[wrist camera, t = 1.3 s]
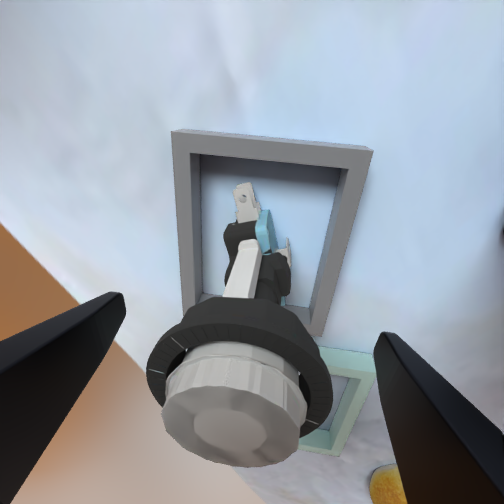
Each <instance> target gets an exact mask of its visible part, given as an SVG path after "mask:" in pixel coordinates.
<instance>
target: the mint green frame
mask: <svg viewBox="0 0 504 504" xmlns="http://www.w3.org/2000/svg"><path fill="white" fill-rule="evenodd" d="M318 348H319V350H320V356H321V358H322V359H323V360H324V362H325V364H326V366H327V368H328V371H329V373H330V374H331V375H338V376H344V377H350V378H349V381H348V383H347V386H346V388H345V391H344V394H343V396H342V399H341V401H340V404H339V406H338V409H337V412H336V414H335V417H334V419H333V422H332V424H331V427H330V429H329V431H328V430H322V429H315V430H314V431H313V432H311V433H309V434H308V435H306V436H304V437H302V438H299V445H298V450H303V451H309V452H314V453H320V454H325V455H331V456H337V457H339V456H340V454H341V451H342V449H343V447H344V445H345V443H346V441H347V439H348V436H349V434H350V432H351V430H352V428H353V426H354V423H355V421H356V419H357V417H358V415H359V413H360V410H361V408H362V406H363V404H364V402H365V400H366V397H367V395H368V393H369V391H370V389H371V387H372V385H373V382H374V380H375V378H376V369H375V363H374V360H373V357H372V354H367V353H361V352H354V351H347V350H341V349H334V348H327V347H321V346H318Z"/></svg>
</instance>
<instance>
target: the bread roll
mask: <svg viewBox="0 0 504 504" xmlns="http://www.w3.org/2000/svg"><path fill="white" fill-rule="evenodd" d="M369 490H370V496H371V499H372V502H373V504H407V501H406V497H405V493H404V489H403V485H402V482H401V478H400V474H399V470H398V466H397V464H389V465H385V466H382V467H379V468H377V469H376V470H375V472H374V473H373V475H372V478H371V481H370V486H369Z"/></svg>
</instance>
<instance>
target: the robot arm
mask: <svg viewBox="0 0 504 504" xmlns="http://www.w3.org/2000/svg"><path fill="white" fill-rule="evenodd" d="M503 233H504V231H503ZM125 316H126V307H125V302H124V297H123V294H122V293H119V292H108V293H105V294H103V295H101V296H99V297H97V298H94V299H92V300H90V301H88V302H86V303H83V304H81V305H79V306H77V307H75V308H73V309H70V310H68V311H66V312H64V313H62V314H59V315H57V316H55V317H53V318H51V319H48V320H46V321H44V322H42V323H40V324H37V325H35V326H33V327H31V328H29V329H26V330H24V331H22V332H20V333H18V334H15V335H13V336H11V337H9V338H7V339H4V340H2V341H0V504H10V503H11V502H12V500H13V499H14V497H15V495H16V494H17V492H18V491H19V489H20V488H21V486H22V485H23V483H24V481H25V480H26V478H27V477H28V475H29V474H30V472H31V471H32V469H33V467H34V466H35V464H36V463H37V461H38V460H39V458H40V457H41V455H42V453H43V452H44V450H45V449H46V447H47V446H48V444H49V443H50V441H51V439H52V438H53V436H54V435H55V433H56V432H57V430H58V429H59V427H60V425H61V424H62V422H63V421H64V419H65V417H66V416H67V415H68V413H69V411H70V410H71V408H72V407H73V405H74V404H75V402H76V400H77V399H78V397H79V396H80V394H81V393H82V391H83V390H84V388H85V387H86V385H87V383H88V382H89V380H90V379H91V377H92V375H93V374H94V373H95V371H96V369H97V368H98V366H99V365H100V363H101V362H102V360H103V358H104V357H105V355H106V353H107V351H108V350H109V348H110V346H111V344H112V342H113V340H114V338H115V336H116V334H117V332H118V330H119V328H120V326H121V324H122V322H123V320H124V318H125ZM373 355H374V362H375V369H376V376H377V382H378V389H379V395H380V401H381V405H382V409H383V413H384V417H385V421H386V425H387V428H388V432H389V436H390V440H391V444H392V447H393V451H394V455H395V459H396V463H397V466H398V470H399V474H400V478H401V482H402V485H403V489H404V493H405V497H406V501H407V504H504V434H503V433H502V431H501V430H500V429H499V428H498V427H496V426H495V425H494V424H493V423H492V422H491V421H490V420H489V419H488V418H487V417H486V416H485V415H483V414H482V413H481V412H480V411H479V410H478V409H477V408H476V407H475V406H474V405H473V404H472V403H470V402H469V401H468V400H467V399H466V398H465V397H464V396H463V395H462V394H461V393H460V392H459V391H457V390H456V389H455V388H454V387H453V386H452V385H451V384H450V383H449V382H448V381H447V380H446V379H444V378H443V377H442V376H441V375H440V374H439V373H438V372H437V371H436V370H435V369H434V368H433V367H432V366H430V365H429V364H428V363H427V362H426V361H425V360H424V359H423V358H422V357H421V356H420V355H419V354H417V353H416V352H415V351H414V350H413V349H412V348H411V347H410V346H409V345H408V344H407V343H406V342H404V341H403V340H402V339H401V338H400V337H399V336H398V335H397V334H395V333H391V332H382V333H381V334H380V336H379V338H378V340H377V343H376V345H375V347H374V352H373Z"/></svg>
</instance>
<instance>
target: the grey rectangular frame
mask: <svg viewBox="0 0 504 504" xmlns="http://www.w3.org/2000/svg"><path fill="white" fill-rule="evenodd" d="M171 140H172V155H173V170H174V185H175V200H176V216H177V231H178V246H179V261H180V276H181V291H182V306H183V316H184V315H185V313H186V312H187V310H188V309H189V308H190V307H192V306H194V305H196V304H198V303H200V302H203V301H205V300H207V299H209V298H211V297H222V296H220V295H213V294H205V293H202V251H201V199H200V154H207V155H217V156H227V157H237V158H247V159H257V160H267V161H277V162H287V163H296V164H306V165H316V166H326V167H336V168H342V169H341V173H340V177H339V182H338V186H337V190H336V195H335V199H334V203H333V208H332V212H331V216H330V220H329V225H328V229H327V233H326V238H325V242H324V246H323V251H322V255H321V259H320V264H319V268H318V272H317V277H316V281H315V285H314V290H313V294H312V298H311V303H310V307H309V308H305V307H298V306H291V305H285V306H282V307H284V308H285V309H287V310H289V311H291V312H293V313H295V314H296V315H297V317H298V318H299V320H300V321H301V322H302V324H303V325H304V327H305V328H306V330H307V331H308V333H309V334H310V335H314V336H321V337H322V334H323V330H324V327H325V323H326V320H327V316H328V312H329V309H330V305H331V302H332V298H333V294H334V291H335V287H336V284H337V280H338V277H339V273H340V269H341V266H342V262H343V259H344V255H345V251H346V248H347V244H348V241H349V237H350V234H351V230H352V226H353V223H354V219H355V216H356V212H357V209H358V205H359V201H360V198H361V194H362V191H363V187H364V183H365V180H366V176H367V173H368V169H369V166H370V162H371V158H372V155H373V150H371V149H369V148H367V147H365V146H358V145H347V144H336V143H326V142H315V141H305V140H294V139H284V138H273V137H263V136H252V135H241V134H231V133H220V132H210V131H199V130H189V129H181V130H176V131H171Z"/></svg>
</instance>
